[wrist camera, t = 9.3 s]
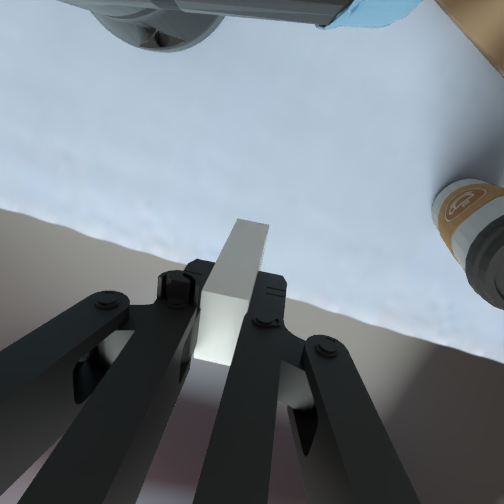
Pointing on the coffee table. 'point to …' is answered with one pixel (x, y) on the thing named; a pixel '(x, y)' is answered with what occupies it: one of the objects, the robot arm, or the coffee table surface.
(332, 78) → the coffee table surface
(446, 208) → the coffee cup
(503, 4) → the post base
